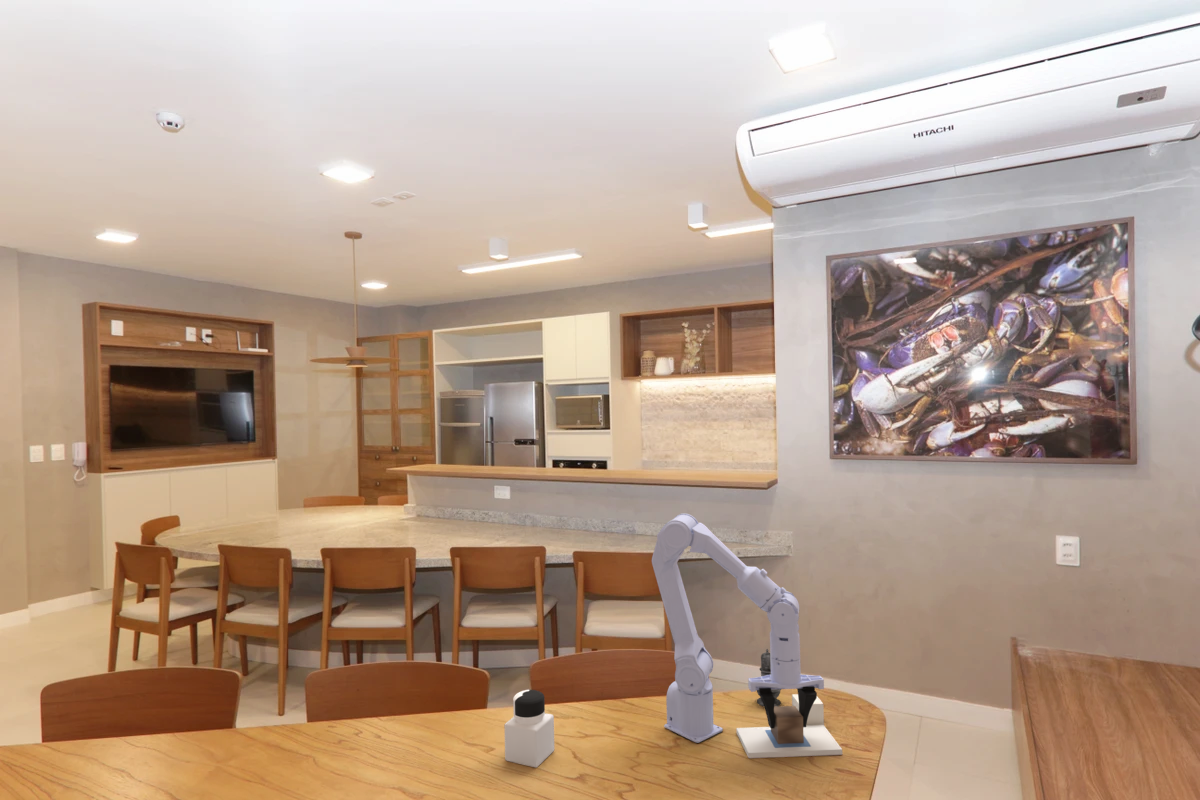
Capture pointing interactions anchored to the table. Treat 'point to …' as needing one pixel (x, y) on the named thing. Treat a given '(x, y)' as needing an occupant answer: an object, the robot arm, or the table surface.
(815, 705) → the cream block
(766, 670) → the grey tall round piece
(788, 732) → the walnut block
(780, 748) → the board
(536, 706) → the medicine bottle
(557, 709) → the table surface
